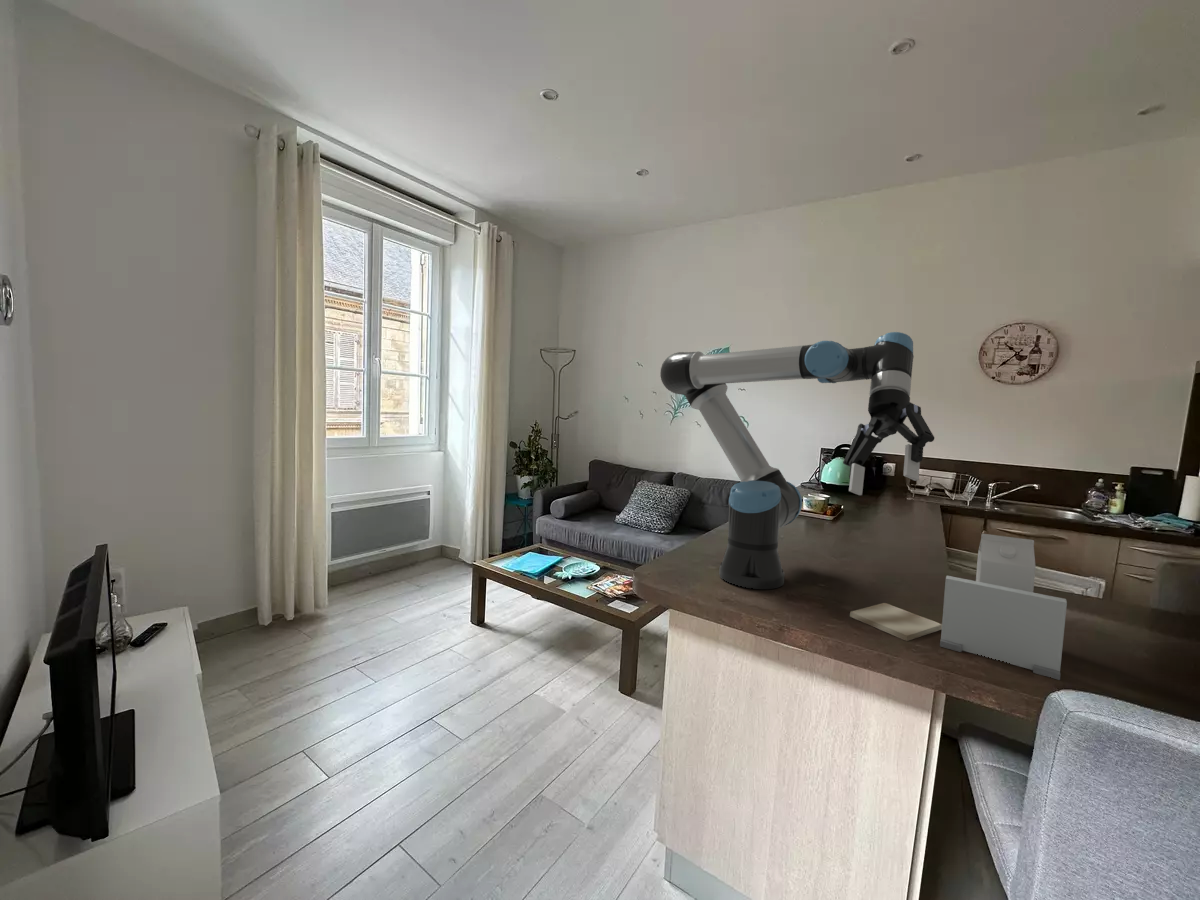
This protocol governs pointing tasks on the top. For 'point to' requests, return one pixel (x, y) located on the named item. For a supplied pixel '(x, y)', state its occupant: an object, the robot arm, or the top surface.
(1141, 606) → the top surface
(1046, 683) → the top surface
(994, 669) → the top surface
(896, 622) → the birch board
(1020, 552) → the milk carton
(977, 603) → the grey screen
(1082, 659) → the top surface
